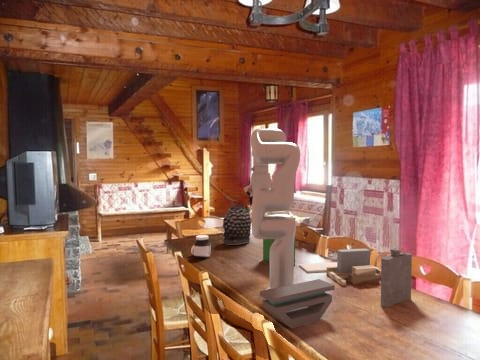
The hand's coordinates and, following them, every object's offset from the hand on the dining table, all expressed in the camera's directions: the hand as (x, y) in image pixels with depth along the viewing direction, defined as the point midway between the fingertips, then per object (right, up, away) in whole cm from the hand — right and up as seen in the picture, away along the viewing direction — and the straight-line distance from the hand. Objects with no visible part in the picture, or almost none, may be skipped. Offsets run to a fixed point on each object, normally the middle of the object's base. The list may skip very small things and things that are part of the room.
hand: (260, 204), depth 198 cm
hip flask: (+47, -34, -51) cm, 78 cm away
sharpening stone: (+9, -35, -67) cm, 76 cm away
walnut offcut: (+43, -33, -27) cm, 61 cm away
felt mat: (+31, -31, -5) cm, 44 cm away
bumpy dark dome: (-12, -28, +53) cm, 61 cm away
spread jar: (-32, -30, +18) cm, 48 cm away
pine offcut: (+43, -29, -28) cm, 59 cm away
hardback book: (+10, -31, +6) cm, 33 cm away
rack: (+42, -32, -23) cm, 58 cm away
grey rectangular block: (+41, -32, -18) cm, 55 cm away
